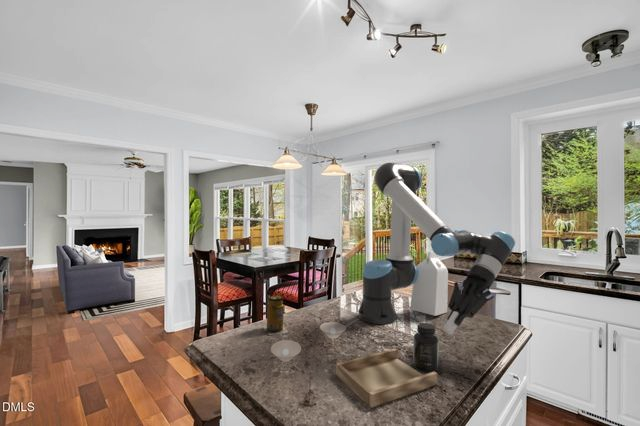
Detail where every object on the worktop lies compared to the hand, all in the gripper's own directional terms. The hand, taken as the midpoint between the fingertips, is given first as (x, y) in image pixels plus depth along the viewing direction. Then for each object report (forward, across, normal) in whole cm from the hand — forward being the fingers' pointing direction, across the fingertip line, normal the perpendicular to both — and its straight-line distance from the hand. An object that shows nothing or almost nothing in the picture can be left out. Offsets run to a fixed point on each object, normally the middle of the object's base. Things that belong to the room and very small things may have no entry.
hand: (447, 331), depth 95 cm
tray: (+23, 0, +10) cm, 25 cm away
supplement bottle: (+13, 0, 0) cm, 13 cm away
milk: (-15, +35, -27) cm, 46 cm away
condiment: (+33, +45, +21) cm, 60 cm away
